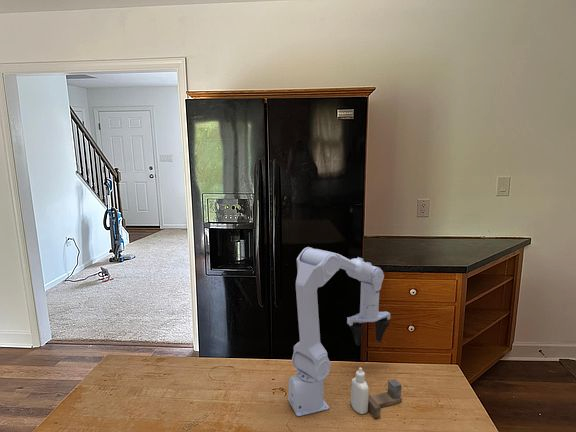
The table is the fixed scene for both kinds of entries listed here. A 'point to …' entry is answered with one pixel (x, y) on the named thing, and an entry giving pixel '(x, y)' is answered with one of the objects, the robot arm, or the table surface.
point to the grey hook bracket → (385, 398)
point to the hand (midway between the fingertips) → (368, 342)
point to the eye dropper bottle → (359, 392)
